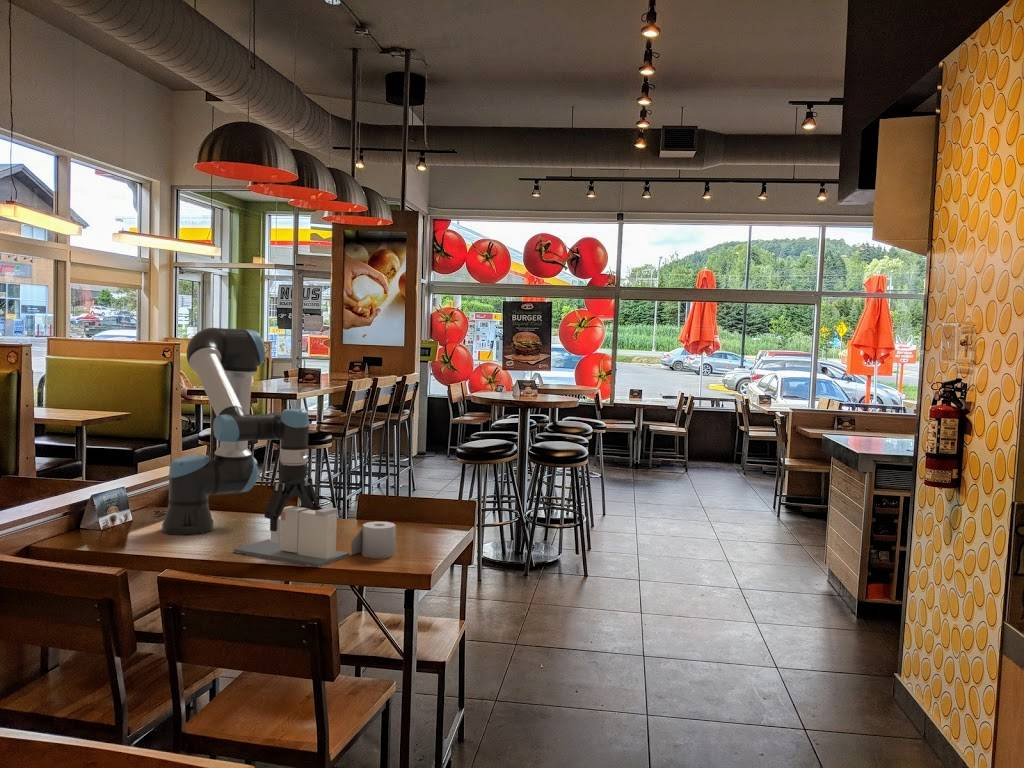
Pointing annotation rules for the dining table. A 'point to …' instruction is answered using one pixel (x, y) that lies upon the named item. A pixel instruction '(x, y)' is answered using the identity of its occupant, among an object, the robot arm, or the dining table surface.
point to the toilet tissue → (375, 540)
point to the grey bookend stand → (305, 541)
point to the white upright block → (290, 529)
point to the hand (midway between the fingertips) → (291, 537)
